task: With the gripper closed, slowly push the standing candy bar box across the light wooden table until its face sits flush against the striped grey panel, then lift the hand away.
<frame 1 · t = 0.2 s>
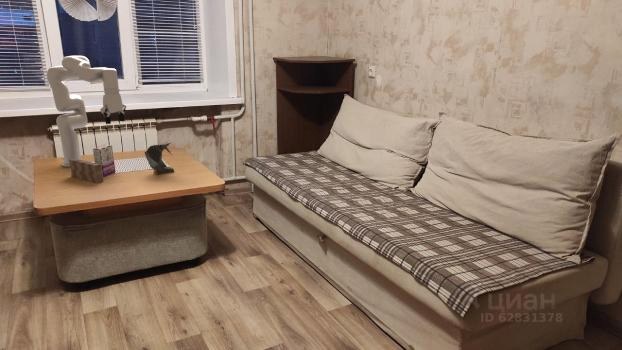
hand: (115, 122, 249), 31 cm above the table, tool pointing down, fingers open, 9 cm apart
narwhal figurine: (160, 172, 262), on the table
candy bar box: (106, 174, 258), on the table
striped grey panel: (87, 179, 248), on the table
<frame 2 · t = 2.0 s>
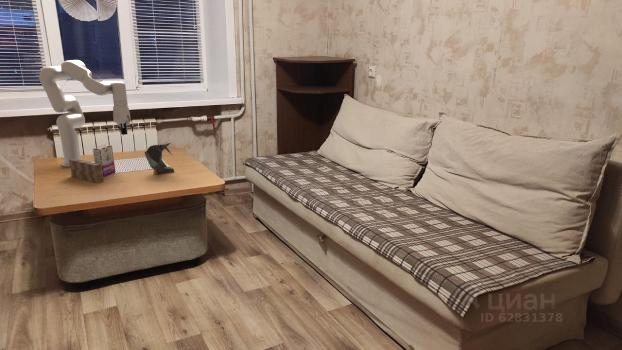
hand: (124, 134, 264), 21 cm above the table, tool pointing down, fingers closed
nothing on the table moved.
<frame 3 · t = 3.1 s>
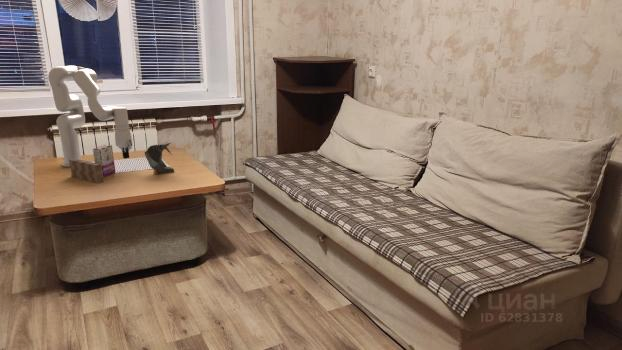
hand: (126, 158, 268), 7 cm above the table, tool pointing down, fingers closed
nothing on the table moved.
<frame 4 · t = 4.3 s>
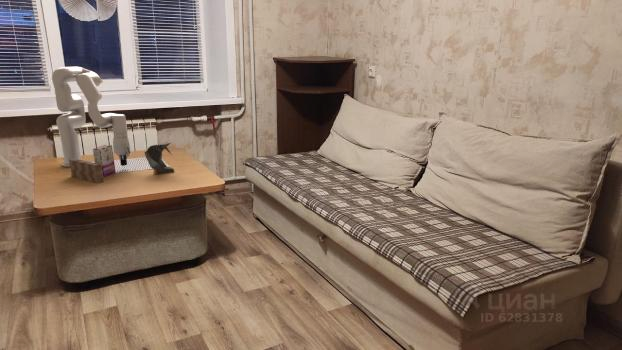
hand: (124, 165, 268), 3 cm above the table, tool pointing down, fingers closed
nothing on the table moved.
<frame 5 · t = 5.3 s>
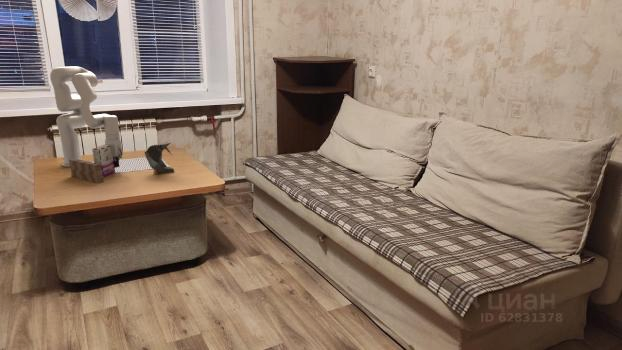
hand: (116, 167, 263), 3 cm above the table, tool pointing down, fingers closed
candy bar box: (105, 174, 258), on the table, touching gripper
everything else where it was.
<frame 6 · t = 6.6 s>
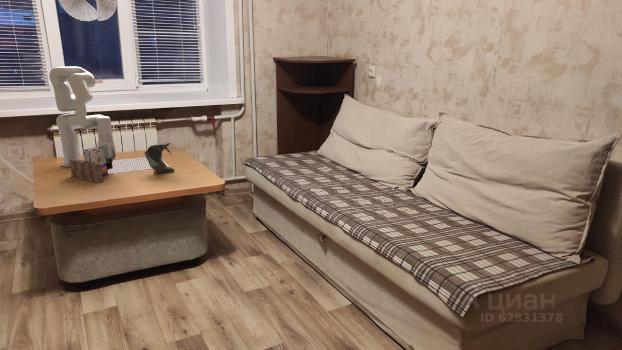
hand: (109, 168, 259), 3 cm above the table, tool pointing down, fingers closed
candy bar box: (97, 176, 254), on the table, touching gripper, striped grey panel
everything else where it was.
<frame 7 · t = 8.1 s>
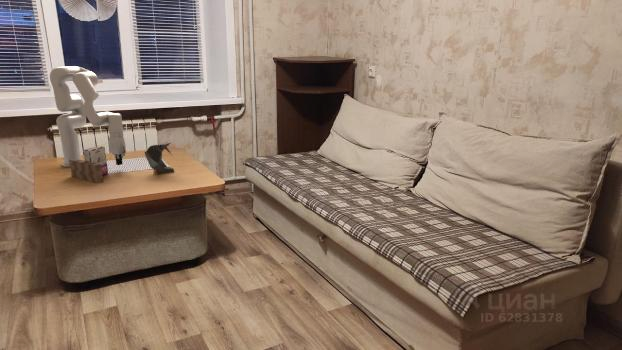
hand: (119, 164, 266), 3 cm above the table, tool pointing down, fingers closed
candy bar box: (97, 176, 254), on the table, touching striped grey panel
everything else where it was.
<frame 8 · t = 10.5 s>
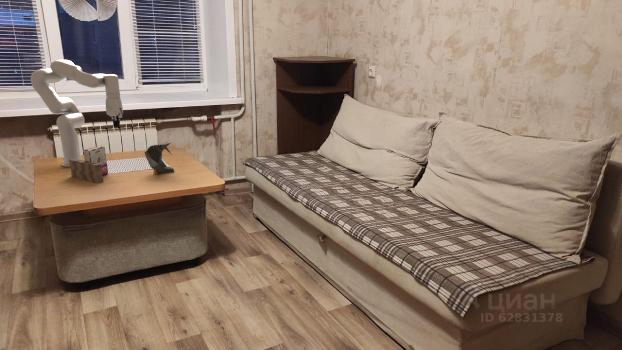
hand: (116, 126, 266), 25 cm above the table, tool pointing down, fingers closed
nothing on the table moved.
at the end: candy bar box inside the target area on the table beside the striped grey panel (0.8 cm from its centre), on the table; candy bar box tilted 0° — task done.
